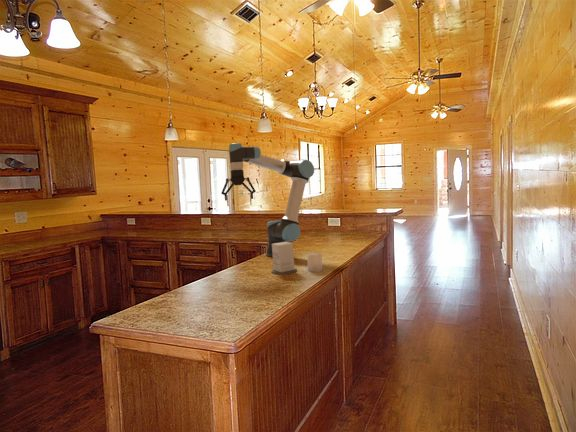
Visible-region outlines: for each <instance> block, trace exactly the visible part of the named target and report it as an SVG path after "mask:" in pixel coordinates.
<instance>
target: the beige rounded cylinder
mask: <svg viewBox="0 0 576 432" xmlns="http://www.w3.org/2000/svg"><path fill="white" fill-rule="evenodd" d="M306 258H307V260H306V262H307V272H309V273H320V272H323V270H324V269H323V253H320V252H311V253H307V254H306Z"/></svg>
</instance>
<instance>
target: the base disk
mask: <svg viewBox="0 0 576 432" xmlns="http://www.w3.org/2000/svg"><path fill="white" fill-rule="evenodd" d="M294 268H295V267H294ZM297 271H298V270H297V268H295V270H291V271H286V272H278V271H275V270H274V268H273V269H272V270H271V273H272V274H274V275H289V274H294V273H296V272H297Z"/></svg>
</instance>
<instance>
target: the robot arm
mask: <svg viewBox="0 0 576 432" xmlns="http://www.w3.org/2000/svg"><path fill="white" fill-rule="evenodd" d="M242 145H243V144H242V143H241V142H234V143H230V144H229V145H228V153H229V164H230V165H229V166H230V178H225V183H224V186H223V188H222V191H221V193H220V194H221V195H223V196H224V201H226V206H227V207H229V206H230V204H229V195H228V194H229V192H230V191H231V189H232V188H233V187H234V186H243V187H244V188H245V189H246V190H247V191H248V192H249V205H250V206H251V205H252V200H253V199H254V193H256V189H255V187H254V186H253V184H252V182H251V179H250V177H249V176H247V177H245V174H244V163H247V164H251V165H255V166H258V167H261V168H264V169H268V170H271V171H275V172H277V173H278V174H279V175H282V176H286V177H288V178H290V179H291V180H292V183H291V188H290V192H289V195H288V199H287V200H288V201H287V203H286V209H285V211H284V216H283V217H281V219H280V220H278V219H277V220H273V221H272V220H271V221H268V222H267V223H266V231H267V247H266V251H265V255H266V256H267V257H272V258H273V254H272V244H274V243H281V242H289V243H290V242H294V241H296V240H297V239H298V238H299V237H300V235H301V228H300V226H299V224H300V223H299V220H298V219H299V215H300V209H301V206H302V205H301V204H302V201H303V196H304V191H305V187H306V184H308V183H309V179H311V177H312V176H313V175H314V173H315V167H314V165H313V163H312V161H310V160H309V159H298V160H284V159H281V160H279V159H278V158H277V159H276V158H274V157H271V156H270V157H269V156H267V155H264V154H262V153H261V148H260V147H259V146H255V145H254V146H253V145H252V146H242ZM243 162H244V163H243ZM244 181H246V182H247V183H248V184H249V186H250V188H249V187H248V186H247V184H245V182H244ZM229 182H231V184H230V186H228V184H229ZM227 186H228V188H227ZM226 189H227V190H226ZM225 190H226V191H225Z"/></svg>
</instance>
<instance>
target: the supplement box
mask: <svg viewBox="0 0 576 432" xmlns="http://www.w3.org/2000/svg"><path fill="white" fill-rule="evenodd" d="M272 254H273V257H272V264H273V269H274V270H275V271H278V272H286V271H291V270H295V257H294V244H293V242H290V241H289V242H287V241H285V242H281V243H274V244H272Z"/></svg>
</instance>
